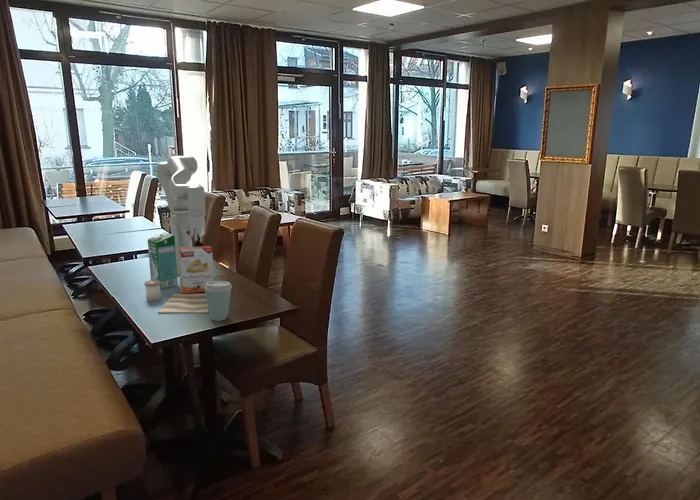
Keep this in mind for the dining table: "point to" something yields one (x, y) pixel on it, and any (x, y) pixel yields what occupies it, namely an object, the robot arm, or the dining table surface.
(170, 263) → the milk carton
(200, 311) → the beech board
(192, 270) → the cracker box
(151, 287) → the tan and white mushroom
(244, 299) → the dining table surface
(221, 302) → the disposable coffee cup
